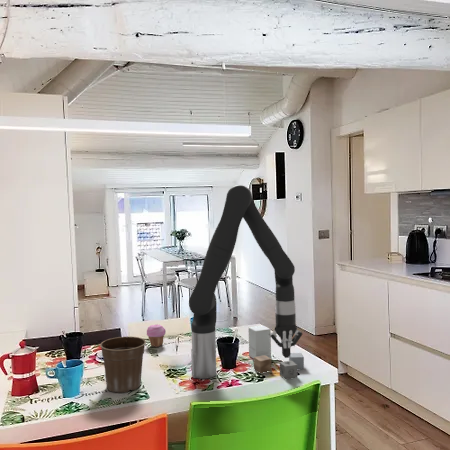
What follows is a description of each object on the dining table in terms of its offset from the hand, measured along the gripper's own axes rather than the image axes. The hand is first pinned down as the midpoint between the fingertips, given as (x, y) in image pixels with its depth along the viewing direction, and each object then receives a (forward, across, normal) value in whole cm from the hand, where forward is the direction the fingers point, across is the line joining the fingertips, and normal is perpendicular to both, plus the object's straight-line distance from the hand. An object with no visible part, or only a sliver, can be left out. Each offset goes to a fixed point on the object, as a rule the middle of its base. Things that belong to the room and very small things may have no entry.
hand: (286, 357), depth 166 cm
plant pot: (+7, -60, +5) cm, 61 cm away
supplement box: (+8, -4, +23) cm, 25 cm away
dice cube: (+8, +1, 0) cm, 8 cm away
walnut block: (+7, -7, +8) cm, 13 cm away
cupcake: (+7, -47, +50) cm, 69 cm away
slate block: (+8, +7, +8) cm, 13 cm away
